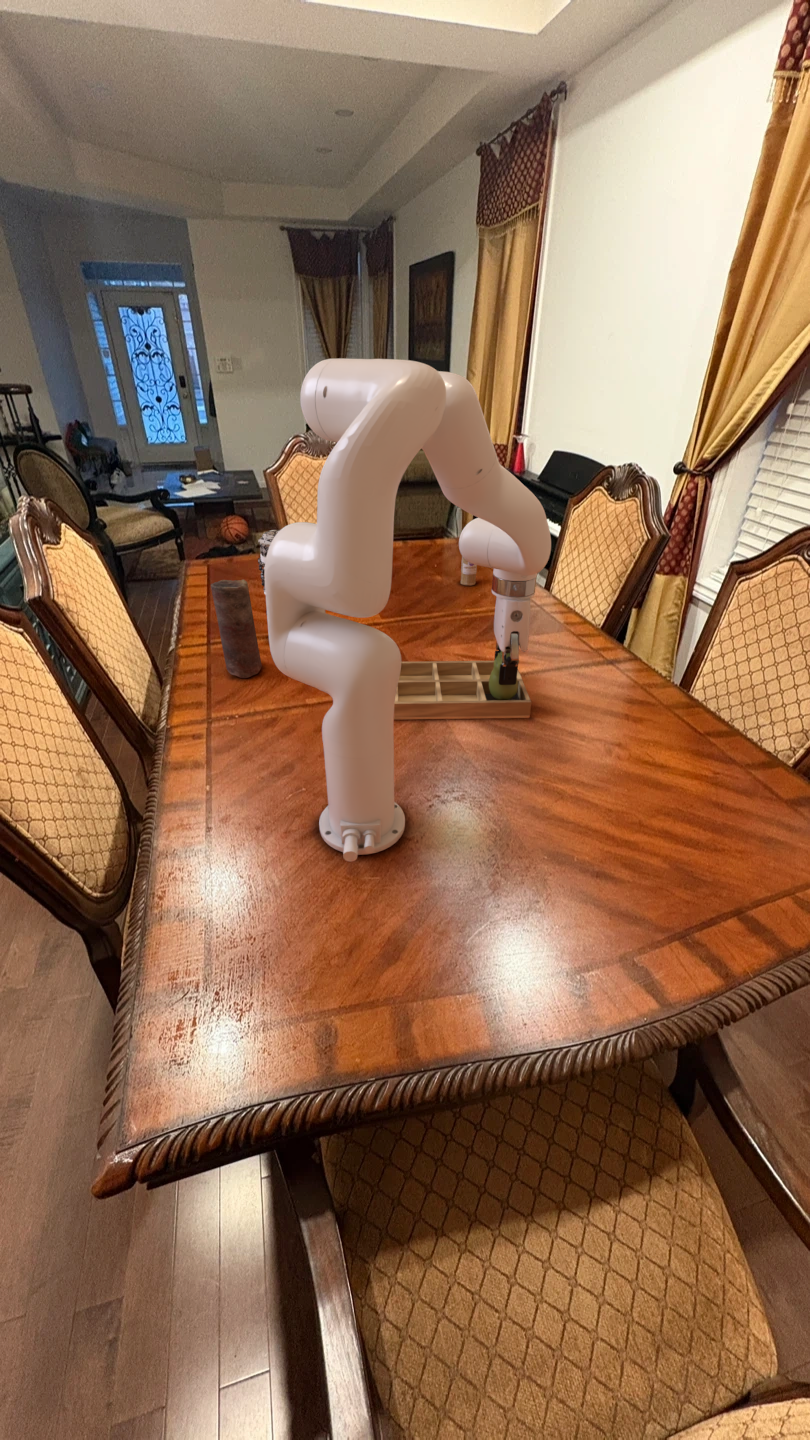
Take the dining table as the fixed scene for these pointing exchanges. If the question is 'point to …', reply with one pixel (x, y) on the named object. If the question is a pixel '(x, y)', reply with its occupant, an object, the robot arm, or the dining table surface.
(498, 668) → the pear
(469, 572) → the sprinkles bottle
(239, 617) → the candle
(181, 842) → the dining table surface
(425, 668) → the wooden compartment tray
